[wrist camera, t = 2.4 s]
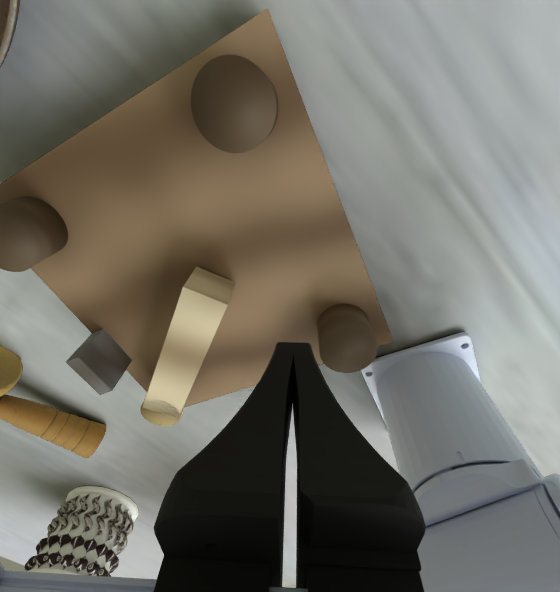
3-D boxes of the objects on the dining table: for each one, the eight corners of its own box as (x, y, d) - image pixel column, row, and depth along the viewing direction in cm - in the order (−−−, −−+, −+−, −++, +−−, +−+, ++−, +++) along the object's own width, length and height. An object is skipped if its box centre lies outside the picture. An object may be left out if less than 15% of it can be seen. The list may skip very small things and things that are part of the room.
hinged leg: (185, 402, 24) (174, 430, 22) (151, 391, 23) (136, 418, 21) (237, 283, 18) (229, 305, 16) (194, 265, 18) (181, 286, 16)
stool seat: (384, 319, 22) (406, 373, 18) (177, 388, 27) (152, 445, 23) (272, 23, 15) (259, -16, 10) (7, 193, 19) (-84, 218, 15)
